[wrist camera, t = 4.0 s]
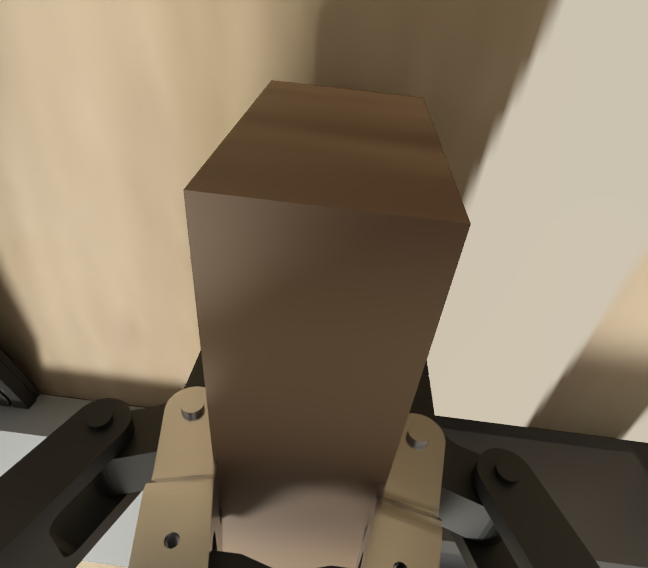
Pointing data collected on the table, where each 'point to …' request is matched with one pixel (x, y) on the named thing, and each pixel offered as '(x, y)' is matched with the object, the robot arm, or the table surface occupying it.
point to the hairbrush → (15, 386)
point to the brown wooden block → (317, 308)
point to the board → (30, 430)
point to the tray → (573, 485)
